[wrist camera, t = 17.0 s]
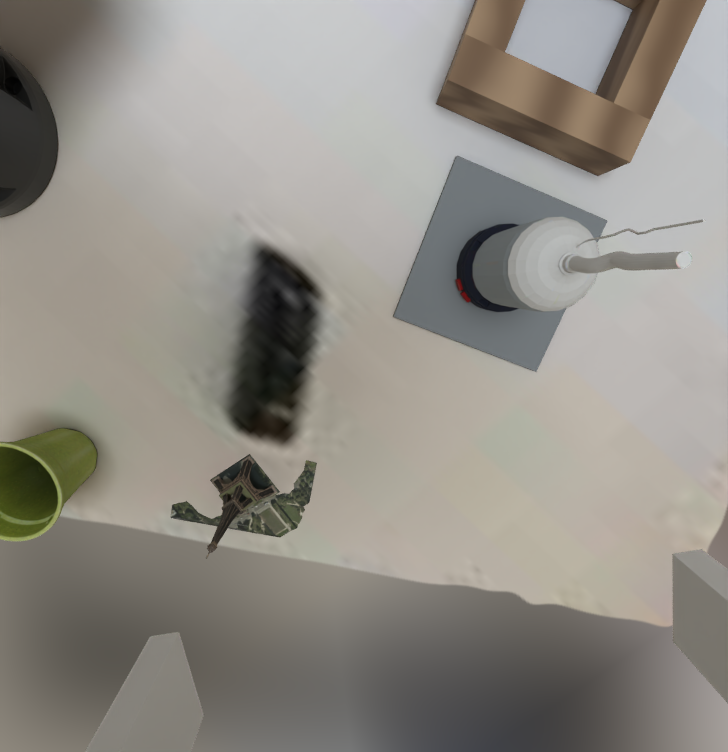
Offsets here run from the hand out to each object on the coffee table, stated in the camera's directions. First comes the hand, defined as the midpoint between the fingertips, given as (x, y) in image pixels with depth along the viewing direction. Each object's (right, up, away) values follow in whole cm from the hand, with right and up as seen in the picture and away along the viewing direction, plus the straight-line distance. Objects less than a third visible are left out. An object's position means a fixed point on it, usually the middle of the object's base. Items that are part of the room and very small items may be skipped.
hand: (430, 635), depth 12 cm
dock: (+16, +37, +28) cm, 49 cm away
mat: (+11, +17, +32) cm, 38 cm away
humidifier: (+11, +17, +32) cm, 38 cm away
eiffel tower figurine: (-15, -6, +37) cm, 40 cm away
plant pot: (-33, -2, +35) cm, 48 cm away
